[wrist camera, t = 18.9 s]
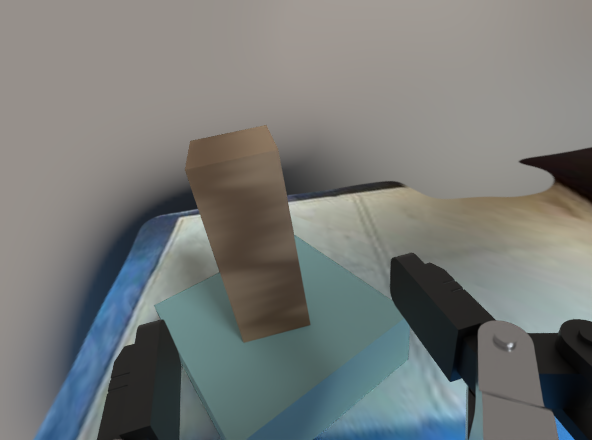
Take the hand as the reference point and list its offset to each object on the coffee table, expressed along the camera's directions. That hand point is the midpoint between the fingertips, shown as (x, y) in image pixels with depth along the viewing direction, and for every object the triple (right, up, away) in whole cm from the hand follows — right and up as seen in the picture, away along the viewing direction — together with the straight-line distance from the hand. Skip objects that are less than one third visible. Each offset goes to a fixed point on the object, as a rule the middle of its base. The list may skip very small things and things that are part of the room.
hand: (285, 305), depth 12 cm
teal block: (-1, -7, +15) cm, 17 cm away
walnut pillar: (-1, -3, +12) cm, 13 cm away
